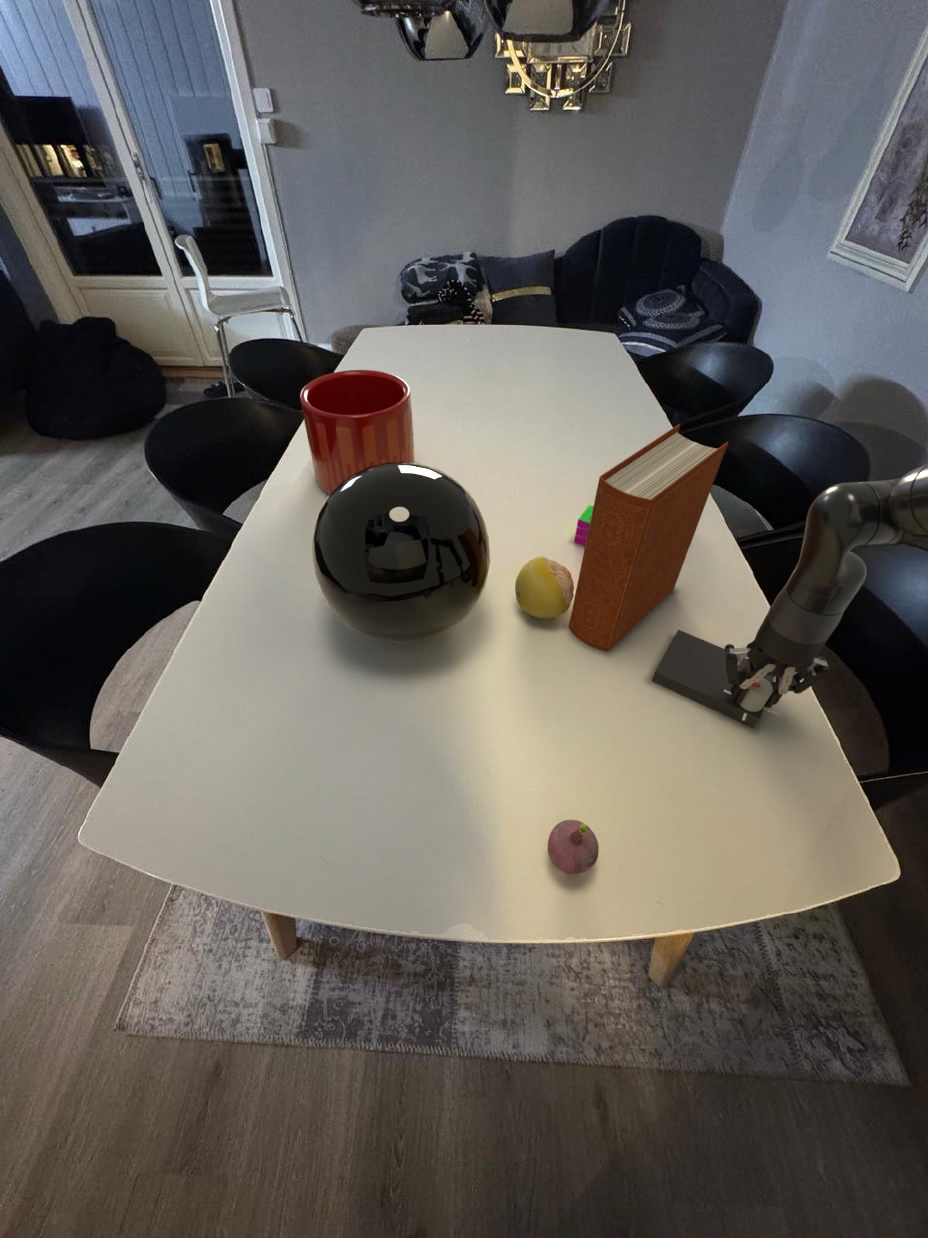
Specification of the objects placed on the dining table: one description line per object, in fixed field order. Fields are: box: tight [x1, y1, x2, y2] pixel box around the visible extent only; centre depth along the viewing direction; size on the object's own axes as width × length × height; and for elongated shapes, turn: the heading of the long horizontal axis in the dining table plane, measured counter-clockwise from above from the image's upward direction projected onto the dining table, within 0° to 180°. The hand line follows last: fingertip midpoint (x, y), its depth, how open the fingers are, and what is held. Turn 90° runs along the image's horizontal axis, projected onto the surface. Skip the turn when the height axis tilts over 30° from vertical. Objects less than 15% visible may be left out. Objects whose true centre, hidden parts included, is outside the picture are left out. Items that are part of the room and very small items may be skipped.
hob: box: [651, 629, 778, 729], centre depth 89 cm, size 18×13×3 cm
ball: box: [311, 462, 491, 644], centre depth 91 cm, size 28×28×28 cm
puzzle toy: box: [573, 504, 594, 547], centre depth 115 cm, size 6×6×6 cm
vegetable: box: [547, 819, 600, 876], centre depth 67 cm, size 6×6×10 cm
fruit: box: [514, 556, 575, 619], centre depth 99 cm, size 10×11×10 cm
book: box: [568, 423, 729, 653], centre depth 92 cm, size 23×8×30 cm, turn 136°
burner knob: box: [739, 678, 773, 712], centre depth 84 cm, size 4×4×4 cm
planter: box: [299, 369, 416, 494], centre depth 126 cm, size 23×23×20 cm
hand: (751, 700), depth 85 cm, fingers closed on burner knob, 3 cm apart
